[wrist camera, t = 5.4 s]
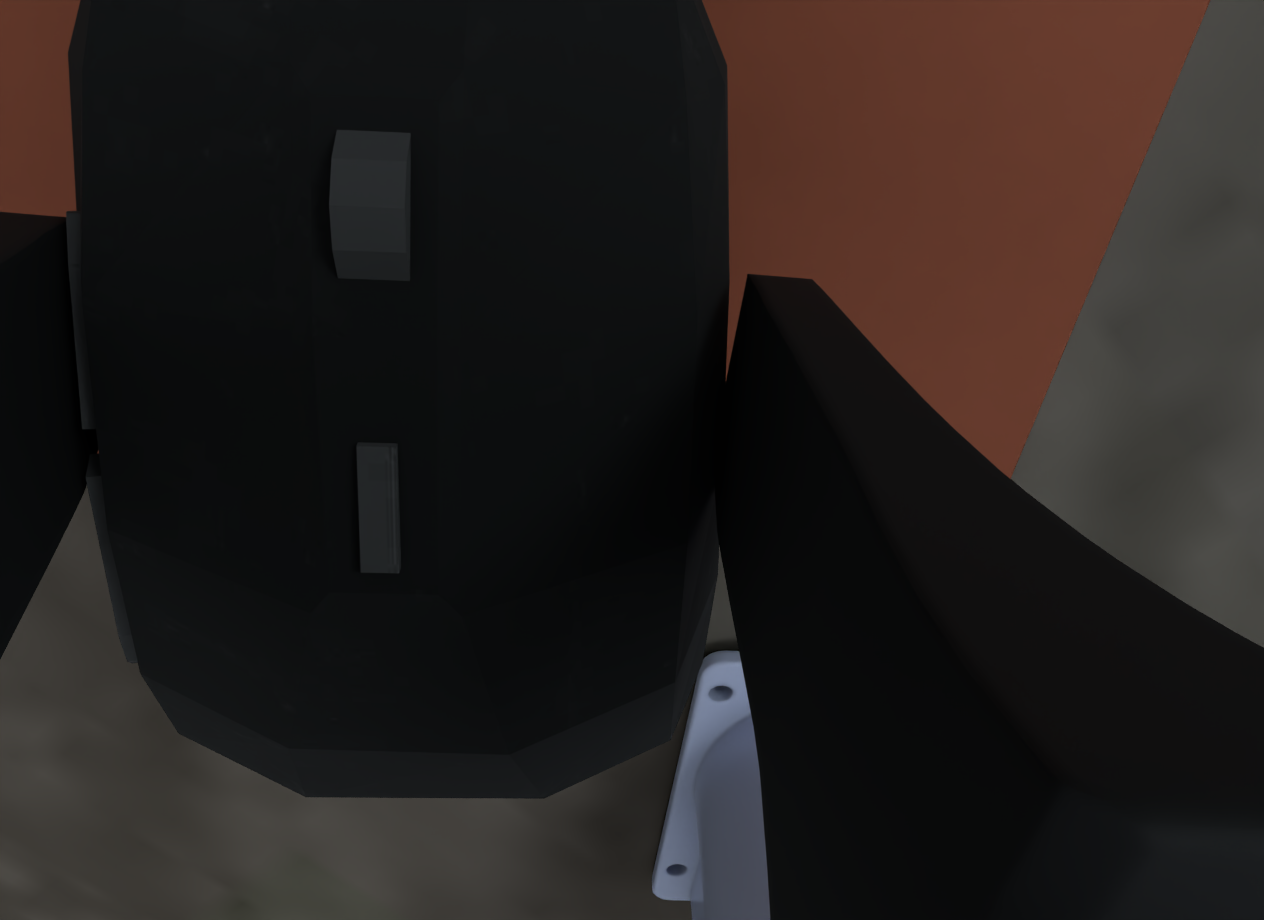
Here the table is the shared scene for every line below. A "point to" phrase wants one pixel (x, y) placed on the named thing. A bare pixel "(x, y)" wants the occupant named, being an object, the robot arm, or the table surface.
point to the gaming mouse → (405, 376)
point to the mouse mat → (858, 168)
